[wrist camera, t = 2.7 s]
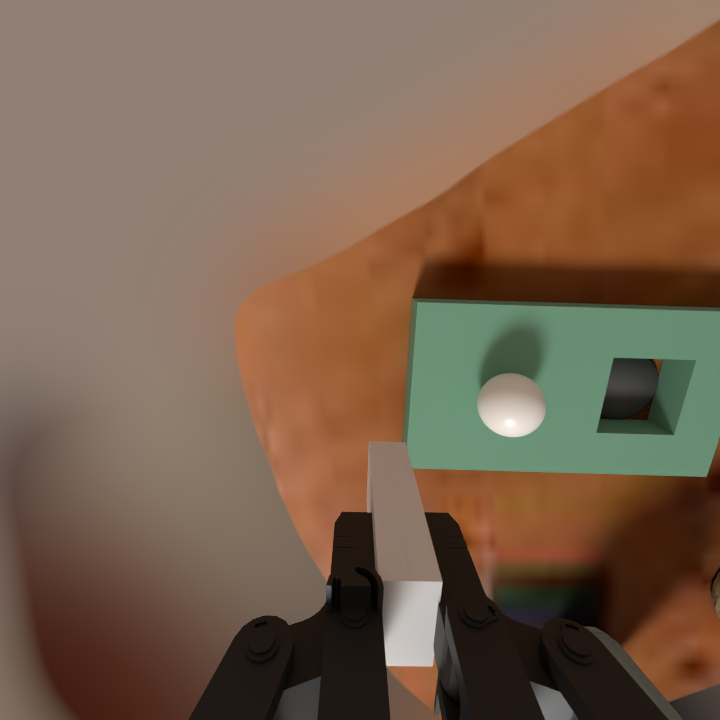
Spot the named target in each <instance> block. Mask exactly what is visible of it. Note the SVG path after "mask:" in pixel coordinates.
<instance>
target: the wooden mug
mask: <svg viewBox="0 0 720 720" xmlns="http://www.w3.org/2000/svg"><path fill="white" fill-rule="evenodd" d="M712 600H713V603H714V606H715V610H716V613H717V615H718V616H719V618H720V571H719V573H718V575H717V577H716V579H715V580H714V582H713V587H712Z"/></svg>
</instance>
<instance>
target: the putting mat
mask: <svg viewBox="0 0 720 720" xmlns="http://www.w3.org/2000/svg"><path fill="white" fill-rule="evenodd" d="M649 359H663V362H662V366H661V370H660V373H659V377H658V373H657V370H656V367H655V366H654V364H653V363H652V362H651V361H650V360H649ZM504 373H516V374H520V375H523V376H526V377H528V378H530V379H531V380H533V381H534V382H535V383H536V384H537V385H538V386H539V387H540V389H541V390H542V392H543V394H544V397H545V400H546V414H545V417H544V419H543V421H542V423H541V424H540V426H539V427H538V428H537V429H536V430H534V431H533V432H531V433H529V434H527V435H525V436H521V437H506V436H502V435H499V434H497V433H495V432H493V431H492V430H491V429H489V428H488V427H487V426H486V425H485V424H484V422H483V421H482V419H481V417H480V415H479V412H478V408H477V399H478V395H479V392H480V390H481V388H482V387H483V385H484V384H485V383H486V382H487V381H488V380H490V379H491V378H493V377H495V376H497V375H500V374H504ZM652 398H653V399H652ZM651 399H652V403H651V407H650V410H649V414H648V418H647V420H635V419H619V418H625V417H629V416H631V415H634V414H635V413H637V412H639V411H640V410H642V409H643V408H644V407H645V406H646V405H647V404H648V403H649V402H650V401H651ZM600 415H601V416H604V417H607V418H612V419H601V418H600ZM719 438H720V308H719V307H687V306H654V305H622V304H589V303H556V302H524V301H491V300H459V299H426V298H412V308H411V322H410V337H409V351H408V366H407V381H406V395H405V410H404V424H403V439H402V442H406V446H407V450H408V453H409V457H410V461H411V465H412V468H420V469H454V470H489V471H524V472H558V473H593V474H627V475H662V476H697V477H707V474H708V471H709V468H710V465H711V462H712V459H713V456H714V453H715V450H716V447H717V444H718V441H719Z"/></svg>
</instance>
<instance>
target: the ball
mask: <svg viewBox="0 0 720 720" xmlns="http://www.w3.org/2000/svg"><path fill="white" fill-rule="evenodd" d="M477 408H478V412H479V415H480V417H481V419H482V421H483V422H484V424H485V425H486V426H487V427H488V428H489V429H491V430H492V431H493V432H495V433H497V434H499V435H502V436H506V437H521V436H525V435H527V434H529V433H531V432H533V431H534V430H536V429H537V428H538V427H539V426H540V424H541V423H542V421H543V419H544V417H545V414H546V400H545V397H544V394H543V392H542V390H541V389H540V387H539V386H538V385H537V384H536V383H535V382H534V381H533V380H531V379H530V378H528V377H526V376H523V375H520V374H516V373H504V374H500V375H497V376H495V377H493V378H491V379H490V380H488V381H487V382H486V383H485V384H484V385H483V387H482V388H481V390H480V392H479V395H478V399H477Z"/></svg>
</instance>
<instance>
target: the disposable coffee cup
mask: <svg viewBox="0 0 720 720" xmlns="http://www.w3.org/2000/svg"><path fill="white" fill-rule="evenodd" d="M583 627H585V628H587V629H588V630H590V631H591V632H592V633H593V634H594V635H595V636H596V637H597V638H598V639H599V640H600V641H601V642H602V643H603V644H604V645H605V647H606V648H607V649H608V650H609V651H610V652H611V654H612V655H613V656H614V657H615V658H616V659H617V660H618V662H619V663H620V664H621V665H622V666H623V667H624V669H625V670H626V671H627V672H628V673H629V674H630V675H631V677H632V678H633V679H634V680H635V681H636V682H637V684H638V685H639V686H640V687H641V688H642V689H643V691H644V692H645V693H646V694H647V695H648V696H649V697H650V699H651V700H652V701H653V702H654V703H655V704H656V706H657V707H658V708H659V709H660V710H661V711H662V712H663V714H664V715H665V716H666V717H667V718H668V719H669V720H683V719H682V718H681V717H680V716H679V715H678V713H677V712H676V711H675V710H674V708H673V707H672V706H671V705H670V704H669V703H668V701H667V700H666V699H665V698H664V697H663V695H662V694H661V693H660V692H659V691H658V689H657V688H656V687H655V686H654V685H653V684H652V682H651V681H650V680H649V679H648V678H647V676H646V675H645V674H644V673H643V672H642V671H641V669H640V668H639V667H638V666H637V665H636V663H635V662H634V661H633V660H632V659H631V658H630V656H629V655H628V654H627V653H626V652H625V650H624V649H623V648H622V647H621V646H620V645H619V643H618V642H617V641H615V640H614V639H612V638H611V637H610V636H609V635H608V634H606V633H605V632H603V631H601V630H599V629H598V628H596V627H587V626H583Z"/></svg>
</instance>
